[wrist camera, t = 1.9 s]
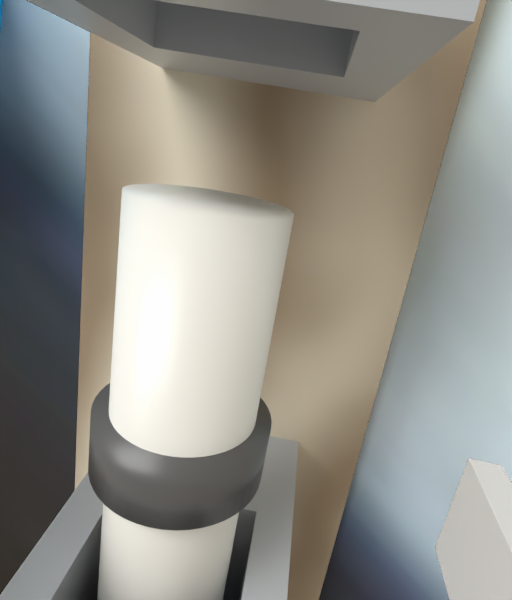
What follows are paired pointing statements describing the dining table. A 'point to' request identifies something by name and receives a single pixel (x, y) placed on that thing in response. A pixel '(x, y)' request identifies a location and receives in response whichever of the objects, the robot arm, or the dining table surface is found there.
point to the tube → (184, 387)
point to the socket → (279, 38)
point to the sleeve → (244, 558)
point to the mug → (0, 11)
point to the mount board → (302, 245)
